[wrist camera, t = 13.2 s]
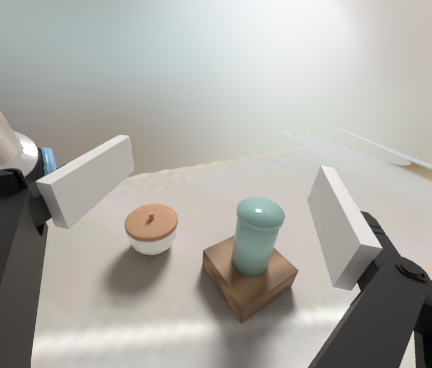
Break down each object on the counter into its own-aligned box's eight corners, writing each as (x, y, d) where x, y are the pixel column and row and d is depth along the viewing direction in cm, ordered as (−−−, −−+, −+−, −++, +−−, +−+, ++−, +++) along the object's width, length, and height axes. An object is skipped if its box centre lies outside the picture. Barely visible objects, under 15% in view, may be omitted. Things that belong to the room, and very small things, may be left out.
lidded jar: (174, 265, 44) (172, 233, 39) (122, 263, 44) (114, 230, 39) (181, 229, 53) (181, 199, 48) (138, 226, 53) (133, 196, 48)
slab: (202, 266, 44) (203, 250, 42) (248, 242, 51) (252, 227, 48) (241, 323, 36) (245, 307, 33) (291, 286, 42) (298, 270, 39)
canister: (222, 254, 41) (228, 205, 35) (251, 239, 45) (261, 192, 39) (247, 285, 36) (259, 234, 30) (277, 266, 40) (294, 216, 33)
